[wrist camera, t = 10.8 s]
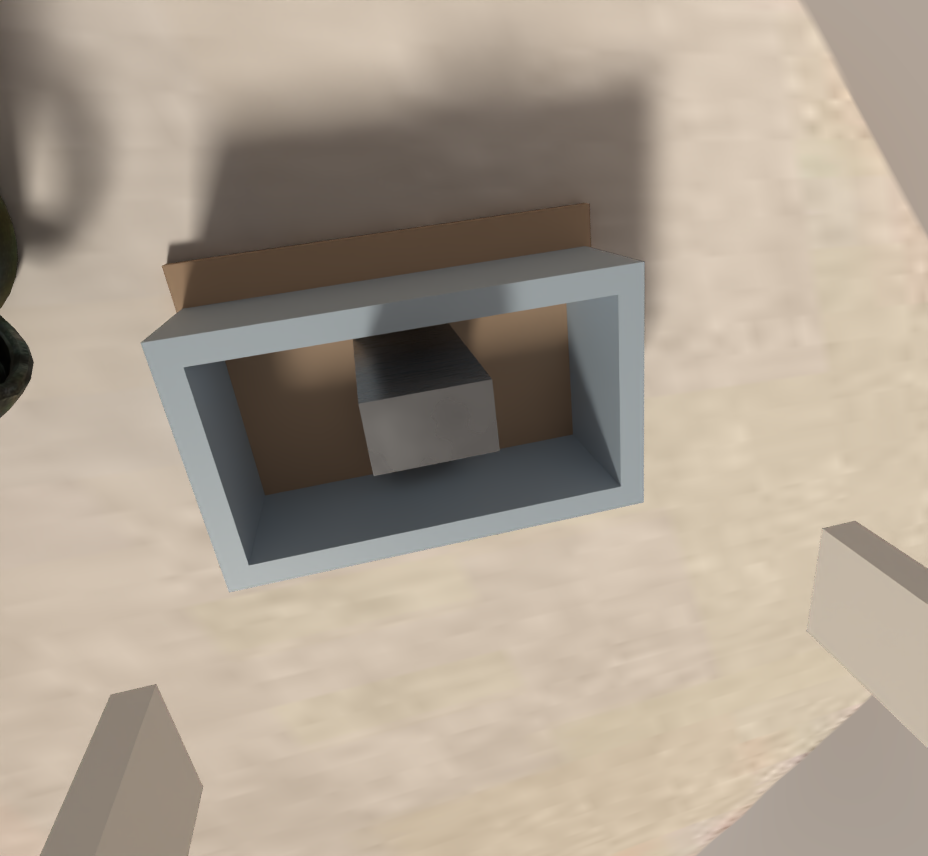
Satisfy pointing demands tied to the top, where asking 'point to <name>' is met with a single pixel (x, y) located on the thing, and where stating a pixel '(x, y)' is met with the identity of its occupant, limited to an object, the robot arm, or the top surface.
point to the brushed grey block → (423, 399)
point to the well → (336, 400)
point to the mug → (3, 350)
